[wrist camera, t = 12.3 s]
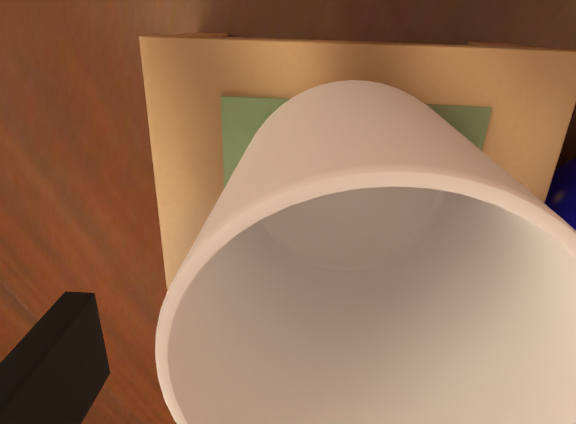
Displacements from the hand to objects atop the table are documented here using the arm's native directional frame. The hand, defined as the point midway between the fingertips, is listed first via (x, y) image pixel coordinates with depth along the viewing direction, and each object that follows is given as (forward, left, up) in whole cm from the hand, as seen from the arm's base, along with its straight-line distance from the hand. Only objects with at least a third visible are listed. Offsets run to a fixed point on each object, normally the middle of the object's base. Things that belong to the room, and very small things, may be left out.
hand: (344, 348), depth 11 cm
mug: (+1, 0, -8) cm, 8 cm away
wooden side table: (0, 0, -15) cm, 15 cm away
